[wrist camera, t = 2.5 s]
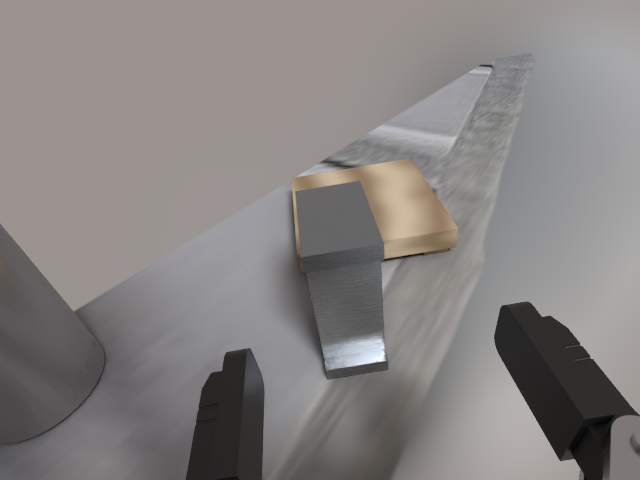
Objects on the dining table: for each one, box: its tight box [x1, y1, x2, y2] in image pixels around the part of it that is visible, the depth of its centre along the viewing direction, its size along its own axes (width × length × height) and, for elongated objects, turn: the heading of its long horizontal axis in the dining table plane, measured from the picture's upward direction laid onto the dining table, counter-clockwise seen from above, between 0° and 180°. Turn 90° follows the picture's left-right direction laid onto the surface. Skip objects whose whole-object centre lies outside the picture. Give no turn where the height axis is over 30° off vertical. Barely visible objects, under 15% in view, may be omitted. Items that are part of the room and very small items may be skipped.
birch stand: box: [292, 158, 458, 273], centre depth 41 cm, size 15×15×3 cm
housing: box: [295, 181, 388, 380], centre depth 26 cm, size 4×7×12 cm, turn 5°
